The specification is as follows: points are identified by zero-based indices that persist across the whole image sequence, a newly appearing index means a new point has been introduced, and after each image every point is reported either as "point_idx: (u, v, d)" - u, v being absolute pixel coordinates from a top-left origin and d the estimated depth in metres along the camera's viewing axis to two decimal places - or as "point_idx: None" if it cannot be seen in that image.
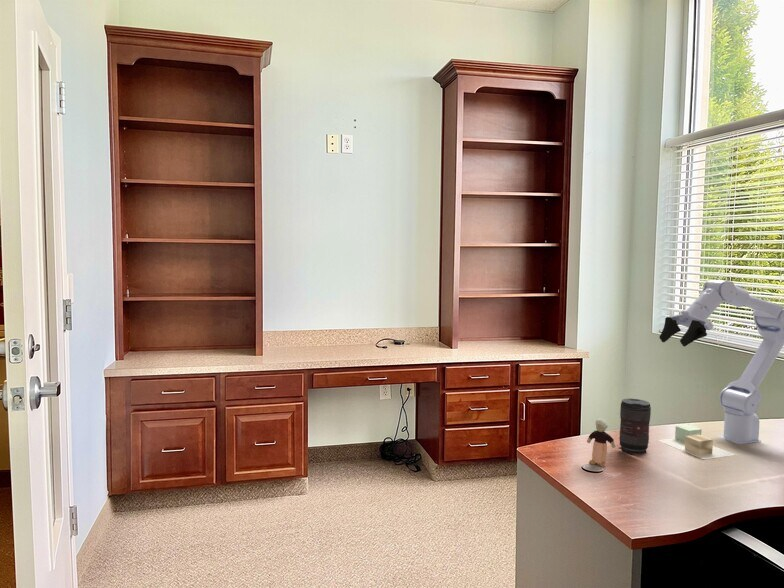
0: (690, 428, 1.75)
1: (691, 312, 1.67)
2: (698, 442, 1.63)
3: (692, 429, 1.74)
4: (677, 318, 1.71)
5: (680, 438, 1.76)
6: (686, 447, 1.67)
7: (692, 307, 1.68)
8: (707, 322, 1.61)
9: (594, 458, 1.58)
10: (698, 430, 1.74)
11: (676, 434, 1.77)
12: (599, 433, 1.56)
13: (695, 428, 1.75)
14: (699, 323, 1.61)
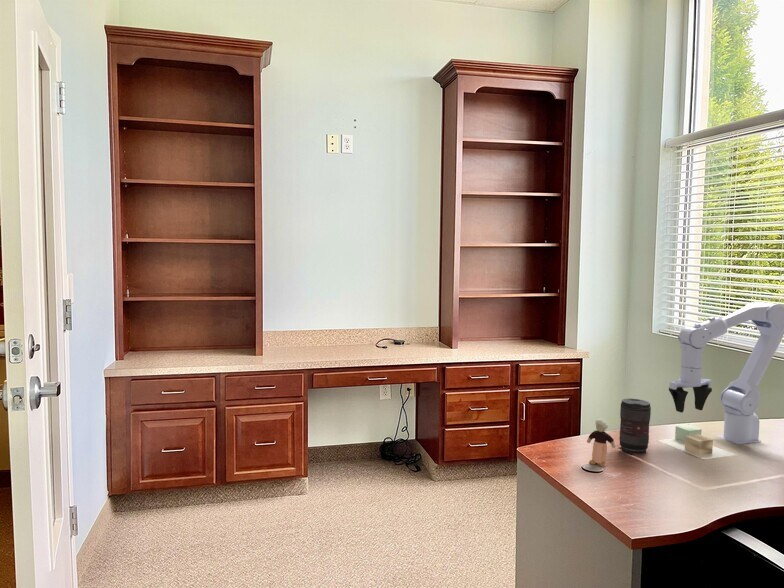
0: (690, 428, 1.75)
1: None
2: (698, 442, 1.63)
3: (692, 429, 1.74)
4: None
5: (680, 438, 1.76)
6: (686, 447, 1.67)
7: None
8: None
9: (594, 458, 1.58)
10: (698, 430, 1.74)
11: (676, 434, 1.77)
12: (599, 433, 1.56)
13: (695, 428, 1.75)
14: (669, 388, 1.75)
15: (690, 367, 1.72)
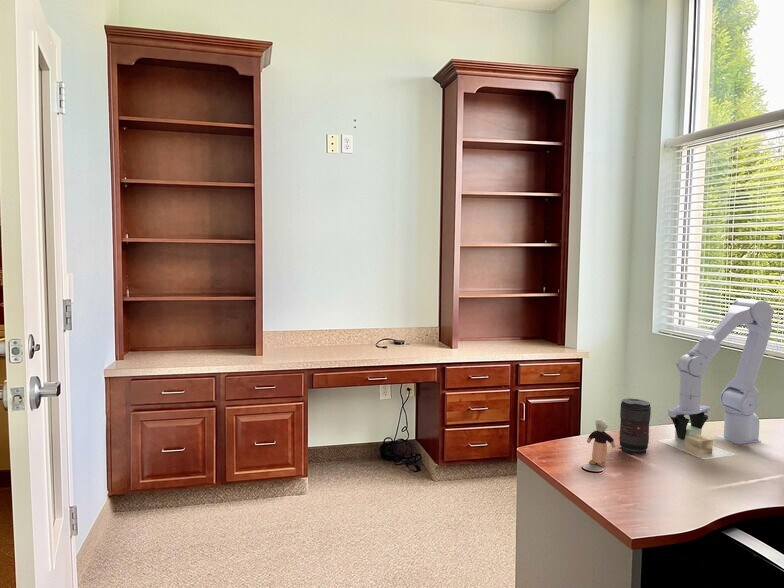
0: (690, 428, 1.75)
1: None
2: (698, 442, 1.63)
3: (692, 429, 1.74)
4: None
5: None
6: (686, 447, 1.67)
7: None
8: None
9: (594, 458, 1.58)
10: (698, 430, 1.74)
11: (676, 434, 1.77)
12: (599, 433, 1.56)
13: (695, 428, 1.75)
14: None
15: (689, 395, 1.72)
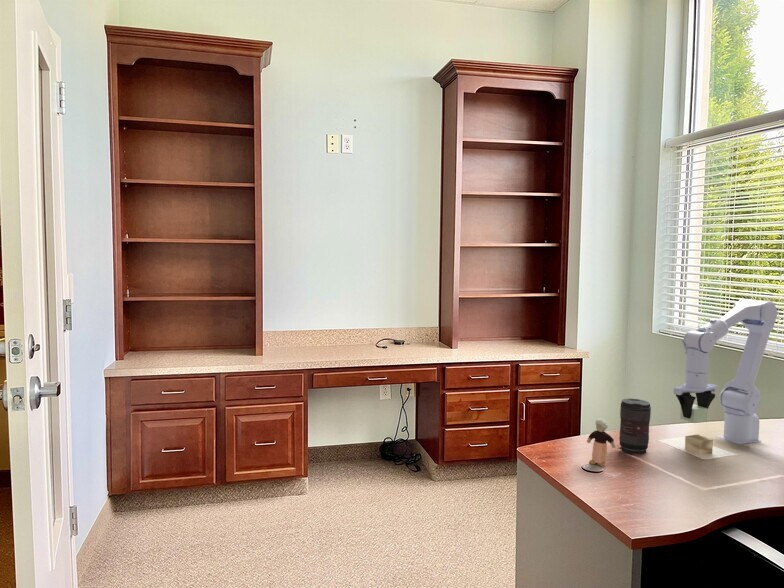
0: (695, 407, 1.69)
1: None
2: (698, 442, 1.63)
3: (698, 408, 1.68)
4: None
5: (685, 417, 1.70)
6: (686, 447, 1.67)
7: None
8: None
9: (594, 458, 1.58)
10: (704, 409, 1.68)
11: (682, 414, 1.71)
12: (599, 433, 1.56)
13: (701, 408, 1.69)
14: (676, 394, 1.70)
15: (698, 372, 1.66)
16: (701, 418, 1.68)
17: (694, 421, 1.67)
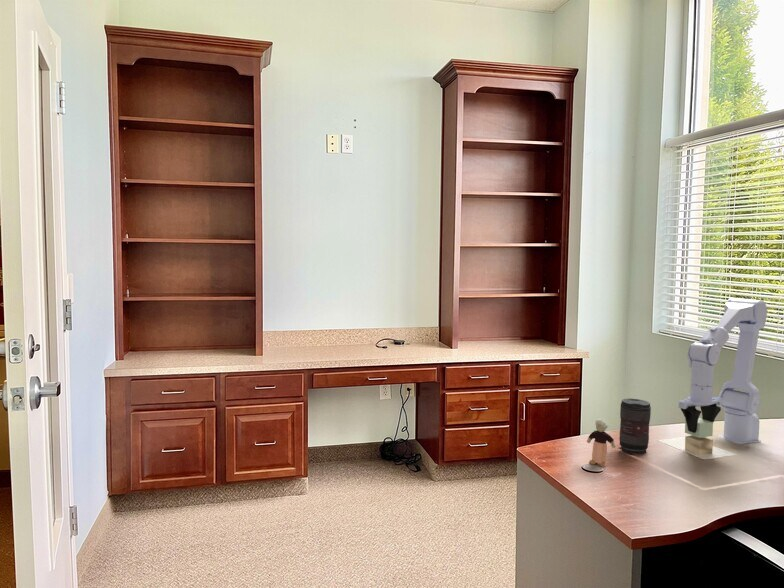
0: (700, 421, 1.65)
1: None
2: (698, 442, 1.63)
3: (703, 422, 1.64)
4: None
5: (690, 432, 1.66)
6: (686, 447, 1.67)
7: None
8: None
9: (594, 458, 1.58)
10: (709, 423, 1.64)
11: (686, 428, 1.67)
12: (599, 433, 1.56)
13: (706, 421, 1.65)
14: (681, 407, 1.66)
15: (705, 386, 1.62)
16: (706, 432, 1.64)
17: (699, 435, 1.63)
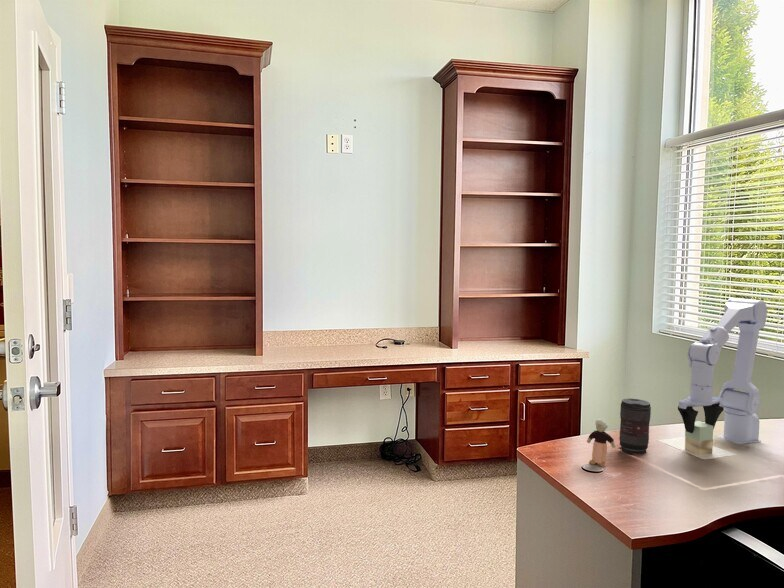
0: (701, 425, 1.65)
1: None
2: (698, 442, 1.63)
3: (703, 426, 1.64)
4: None
5: (690, 435, 1.66)
6: (686, 447, 1.67)
7: None
8: None
9: (594, 458, 1.58)
10: (710, 427, 1.64)
11: (687, 432, 1.67)
12: (599, 433, 1.56)
13: (707, 425, 1.65)
14: (678, 408, 1.65)
15: (705, 386, 1.62)
16: (707, 436, 1.64)
17: (700, 439, 1.63)
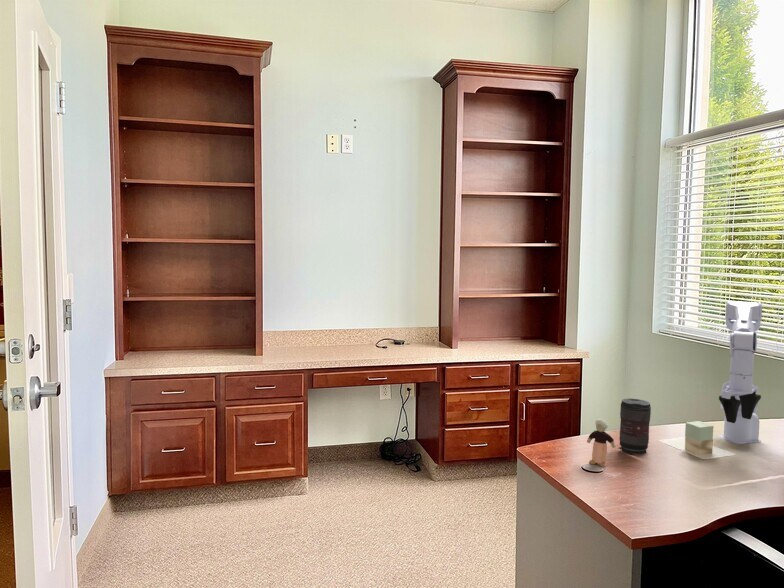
0: (701, 425, 1.65)
1: (729, 384, 1.65)
2: (698, 442, 1.63)
3: (703, 426, 1.64)
4: None
5: (690, 435, 1.66)
6: (686, 447, 1.67)
7: None
8: None
9: (594, 458, 1.58)
10: (710, 427, 1.64)
11: (687, 432, 1.67)
12: (599, 433, 1.56)
13: (707, 425, 1.65)
14: (719, 398, 1.62)
15: (750, 374, 1.60)
16: (707, 436, 1.64)
17: (700, 439, 1.63)
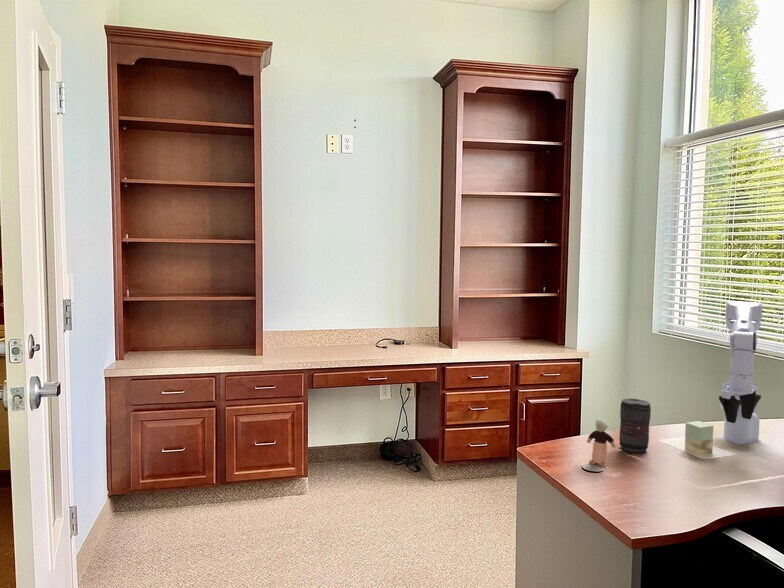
0: (701, 425, 1.65)
1: (729, 384, 1.65)
2: (698, 442, 1.63)
3: (703, 426, 1.64)
4: None
5: (690, 435, 1.66)
6: (686, 447, 1.67)
7: None
8: None
9: (594, 458, 1.58)
10: (710, 427, 1.64)
11: (687, 432, 1.67)
12: (599, 433, 1.56)
13: (707, 425, 1.65)
14: (719, 398, 1.62)
15: (750, 374, 1.60)
16: (707, 436, 1.64)
17: (700, 439, 1.63)
